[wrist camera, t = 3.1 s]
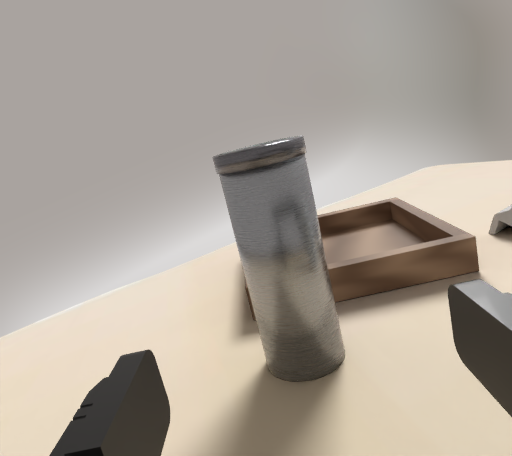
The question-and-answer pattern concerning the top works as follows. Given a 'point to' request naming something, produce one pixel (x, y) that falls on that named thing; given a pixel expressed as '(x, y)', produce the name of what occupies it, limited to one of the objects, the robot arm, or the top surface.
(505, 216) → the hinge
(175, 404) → the top surface
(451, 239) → the walnut tray
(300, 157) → the steel canister
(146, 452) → the robot arm
